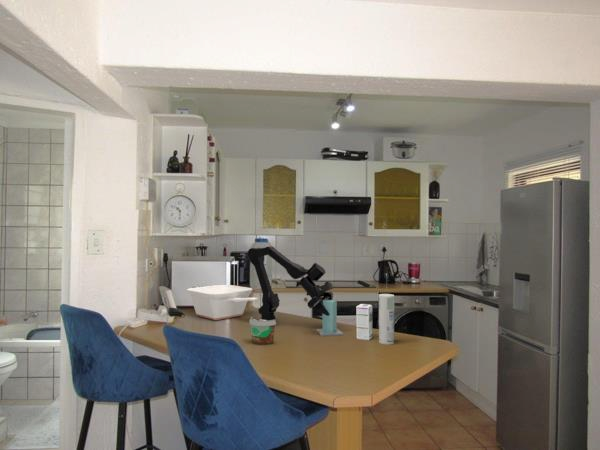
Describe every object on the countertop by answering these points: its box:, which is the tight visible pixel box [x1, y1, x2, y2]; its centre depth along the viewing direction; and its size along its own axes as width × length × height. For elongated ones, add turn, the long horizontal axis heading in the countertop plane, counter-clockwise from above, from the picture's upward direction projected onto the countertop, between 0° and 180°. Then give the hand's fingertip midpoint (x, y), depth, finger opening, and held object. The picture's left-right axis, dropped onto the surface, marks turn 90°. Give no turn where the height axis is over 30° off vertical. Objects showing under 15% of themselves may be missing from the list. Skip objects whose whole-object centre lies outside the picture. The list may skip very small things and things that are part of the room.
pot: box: [186, 284, 259, 321], centre depth 220 cm, size 29×44×15 cm, turn 47°
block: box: [321, 299, 338, 333], centre depth 191 cm, size 5×5×14 cm
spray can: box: [378, 293, 395, 345], centre depth 175 cm, size 6×6×20 cm
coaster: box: [316, 328, 344, 337], centre depth 190 cm, size 10×10×1 cm
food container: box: [248, 316, 277, 346], centre depth 172 cm, size 12×6×10 cm, turn 62°
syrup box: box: [355, 303, 374, 341], centre depth 182 cm, size 6×6×14 cm
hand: (332, 313), depth 190 cm, fingers open, 9 cm apart
